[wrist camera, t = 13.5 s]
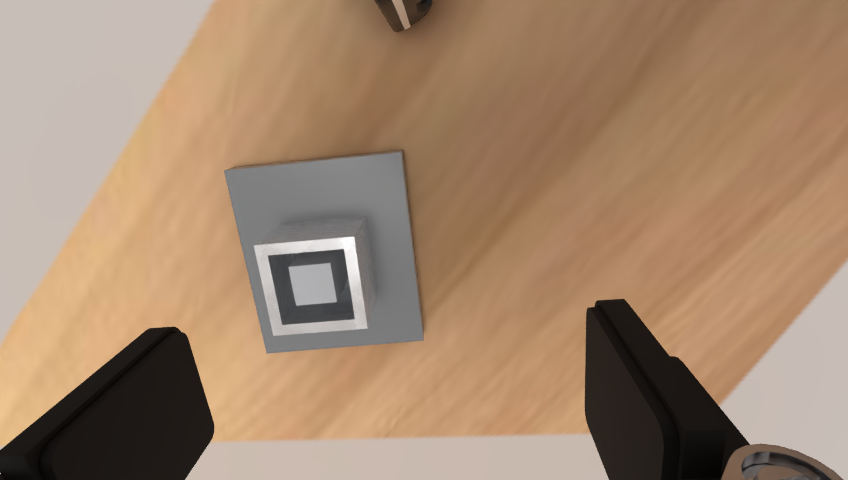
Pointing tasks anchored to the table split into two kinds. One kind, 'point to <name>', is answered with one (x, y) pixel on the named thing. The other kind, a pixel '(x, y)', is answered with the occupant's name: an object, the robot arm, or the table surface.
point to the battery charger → (403, 12)
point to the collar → (310, 237)
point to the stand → (326, 270)
